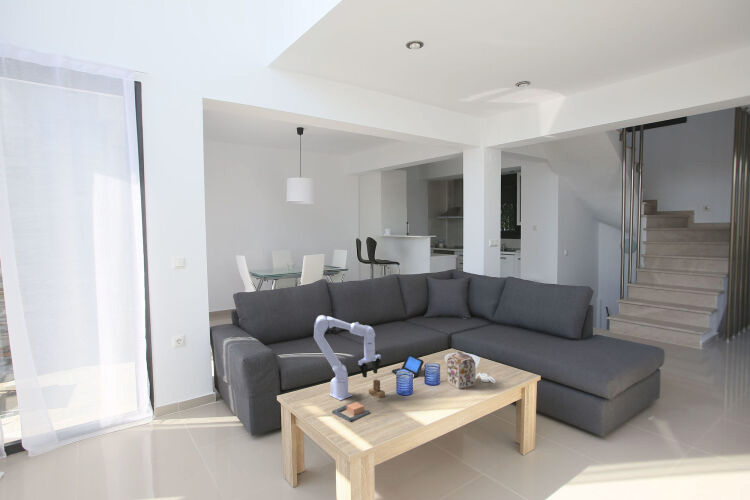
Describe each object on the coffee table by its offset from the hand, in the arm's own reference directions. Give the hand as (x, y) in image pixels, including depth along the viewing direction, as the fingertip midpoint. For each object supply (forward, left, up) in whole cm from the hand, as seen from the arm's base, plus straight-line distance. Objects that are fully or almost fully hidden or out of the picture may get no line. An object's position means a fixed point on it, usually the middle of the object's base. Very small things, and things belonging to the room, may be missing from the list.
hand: (369, 375), depth 219 cm
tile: (+9, -19, -11) cm, 23 cm away
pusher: (+3, +2, -11) cm, 11 cm away
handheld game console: (-5, +36, -11) cm, 38 cm away
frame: (+9, -21, -10) cm, 25 cm away
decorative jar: (+27, +45, -11) cm, 53 cm away
